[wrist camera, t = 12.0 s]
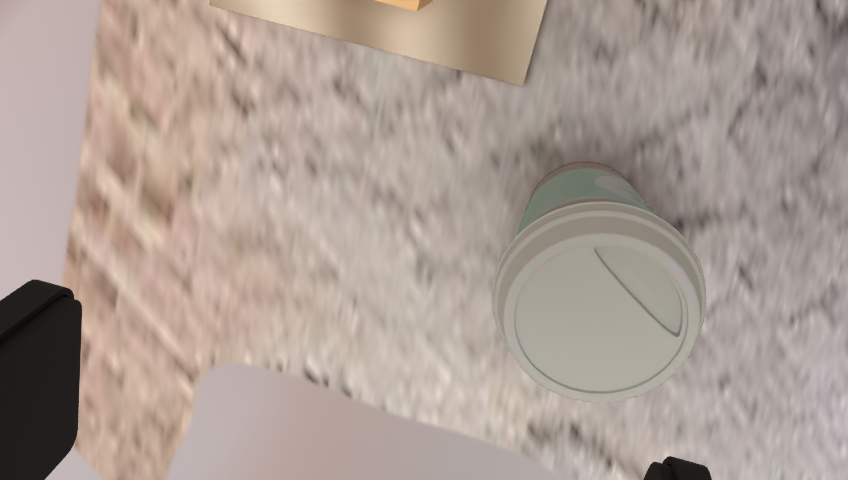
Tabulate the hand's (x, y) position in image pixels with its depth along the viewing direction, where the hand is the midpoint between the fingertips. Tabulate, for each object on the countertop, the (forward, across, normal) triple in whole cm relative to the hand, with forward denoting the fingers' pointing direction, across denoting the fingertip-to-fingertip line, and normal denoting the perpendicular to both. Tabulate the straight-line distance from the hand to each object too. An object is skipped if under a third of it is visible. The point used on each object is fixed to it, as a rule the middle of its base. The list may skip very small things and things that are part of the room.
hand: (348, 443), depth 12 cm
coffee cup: (+28, -7, +5) cm, 30 cm away
